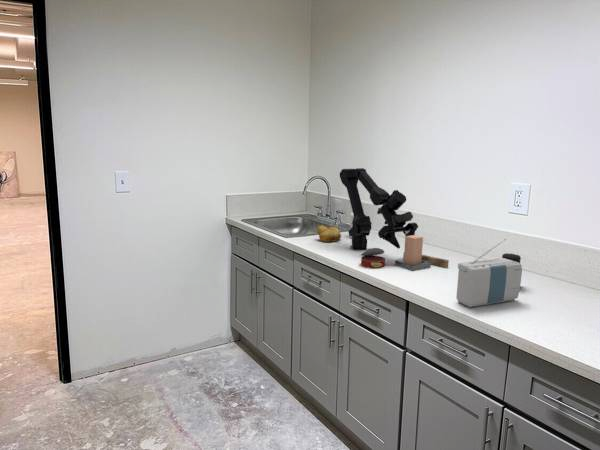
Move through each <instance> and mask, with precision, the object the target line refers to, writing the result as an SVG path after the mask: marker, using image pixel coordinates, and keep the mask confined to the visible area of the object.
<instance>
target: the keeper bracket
mask: <svg viewBox="0 0 600 450" xmlns="http://www.w3.org/2000/svg"><path fill="white" fill-rule="evenodd" d="M393 264H394V266H397V267H400V268H404V269H406V270H408V271H419V270H423V269H424V270H426V269H430V268H431V266H432V265H431V263H430V262H427V261H424V260H421V264H415V265H411V264H408V263H405V262H404V261H401V260H400V259H399V260H398V259H395V260H394V263H393Z"/></svg>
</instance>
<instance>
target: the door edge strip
mask: <svg viewBox="0 0 600 450" xmlns="http://www.w3.org/2000/svg"><path fill="white" fill-rule="evenodd" d="M402 258H403V260H404V254H403V255H402ZM422 260H424V261H427V262H430V263H431V266H434V267H435V266H436V267H440V268H444V269H447V268H449V262H450V260H449V259H445V258H440V257H435V256H431V255H426V254H422Z"/></svg>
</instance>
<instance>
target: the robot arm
mask: <svg viewBox="0 0 600 450" xmlns="http://www.w3.org/2000/svg"><path fill="white" fill-rule="evenodd" d="M339 179H340V181H341V184H342V185H343V186H344V187H345V188H346V191H347V194H348V198H349V203H350V205H351V211H352V213H353V215H354V218H353V221H352V225H353V226H352V228H351V229H350V228H349V230H348V235H349V237H350V236H352V239H351V245H350V246H349V247H350V248H351V249H352V250H354V251H356V250H358V251H359V250H363V251H364V250H365V251H366V250H368V248H367V247H368V239H367V236H370V234H371V230H372V224H373V222H371V218H370V215H366V214H365V211H364V208H363V204H362V200H361V197H360V193H359V189H358V183H359V182H360V184H362V186H363V187H364V188H365V190H366V191H367V192H368V194H369V200H370V201H371V202H372V204H373V205H374V206H380V207H378V208H377V212H376V213H377V215H382V217H383V219H384V225H383V226H382V227H381V228H380V229H379V231H378V232H377V234H378V237H379V239H382V240H385V241H386V242H388V243H390V244H391V245H392V246H394V247H395V248H396V249H398V250H399V249H401V245H400V242H399V241H398V239H397V237H396V233H400V232H401V233H403V234H404V237H405V236H411V235H416V231H417V230H418V228H419V225H418V223H417V222H411V221H412V219H413V218H414V215H413V213H412V212H411V211H407V212H404V213H400V214H398V213H397V212H396V211H397V210H398V211H399V209H400V208H401V207H402V206H403V205H404V204H405V203H407V197H406V195H405V194H403V193H402V192H400V191H399V190H398V189H395V190H393V191H392V193H391V194H389V192H388V191H386V189H384V188H382V187H380V186H378V184H377V183H376V181H374V179H373V178H372V177H371V176H370V175H369V174H368V172H367V170H366V168H363V167H362V168H359V167H358V168H343V169H341V170H340V172H339ZM407 222H408V223H407Z"/></svg>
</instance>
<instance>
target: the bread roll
mask: <svg viewBox="0 0 600 450" xmlns="http://www.w3.org/2000/svg"><path fill="white" fill-rule="evenodd" d="M316 231H317V232H316V233H317V235H318V238H319V241H321V242H324V243H329V242H333V243H334V242H337V241H339V240H341V238H342V234H341V231H340V229H339V228H338V227H336V226H335V227H334V226H329V227H327V226H325V225H323V224H320V225H318V226H317V229H316Z"/></svg>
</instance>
